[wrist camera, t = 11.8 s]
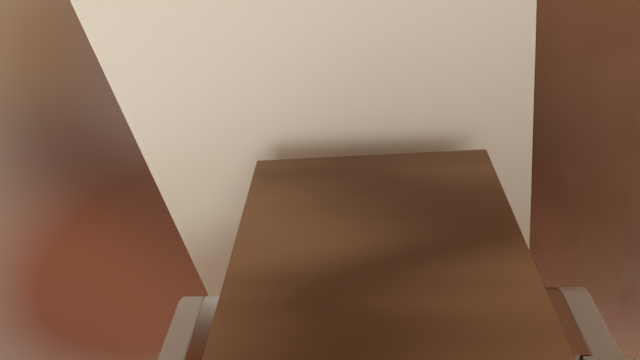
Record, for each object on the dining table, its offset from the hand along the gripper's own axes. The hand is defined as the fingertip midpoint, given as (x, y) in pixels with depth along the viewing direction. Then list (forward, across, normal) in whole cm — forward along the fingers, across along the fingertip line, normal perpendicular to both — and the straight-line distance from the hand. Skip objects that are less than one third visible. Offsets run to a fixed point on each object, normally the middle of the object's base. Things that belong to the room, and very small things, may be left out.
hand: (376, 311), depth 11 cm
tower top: (+9, +1, 0) cm, 9 cm away
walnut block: (+2, 0, 0) cm, 2 cm away
